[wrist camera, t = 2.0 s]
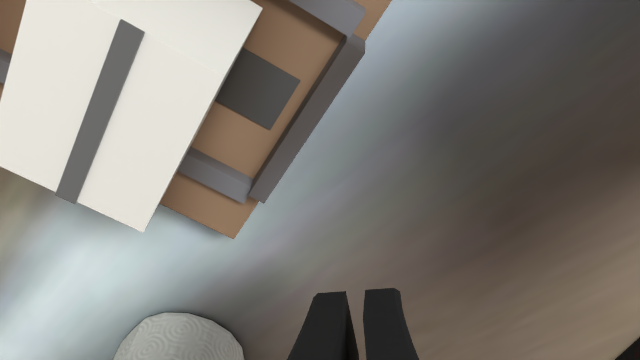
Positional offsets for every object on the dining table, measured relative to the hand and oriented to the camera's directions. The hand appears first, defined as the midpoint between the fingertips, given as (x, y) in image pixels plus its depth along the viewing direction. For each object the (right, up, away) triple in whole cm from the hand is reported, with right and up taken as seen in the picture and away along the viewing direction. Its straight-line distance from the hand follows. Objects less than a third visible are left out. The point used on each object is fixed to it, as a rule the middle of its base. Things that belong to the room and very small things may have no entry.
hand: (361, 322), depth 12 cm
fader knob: (-6, +7, +4) cm, 10 cm away
